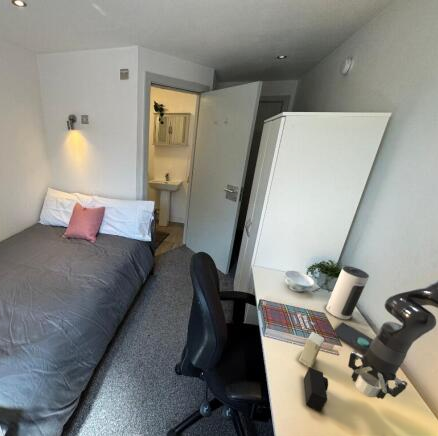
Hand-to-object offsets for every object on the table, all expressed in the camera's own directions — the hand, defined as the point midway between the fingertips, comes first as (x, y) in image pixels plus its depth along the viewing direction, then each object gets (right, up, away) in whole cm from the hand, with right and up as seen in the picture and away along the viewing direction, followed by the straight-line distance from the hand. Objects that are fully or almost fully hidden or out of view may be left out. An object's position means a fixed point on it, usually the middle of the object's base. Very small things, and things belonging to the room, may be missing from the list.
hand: (366, 387), depth 79 cm
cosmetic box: (-10, 0, +16) cm, 18 cm away
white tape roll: (0, -1, 0) cm, 1 cm away
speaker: (+26, +8, +43) cm, 50 cm away
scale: (+20, +3, +27) cm, 33 cm away
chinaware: (+15, +16, +60) cm, 64 cm away
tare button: (+19, +4, +21) cm, 29 cm away
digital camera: (-16, -5, +3) cm, 17 cm away
